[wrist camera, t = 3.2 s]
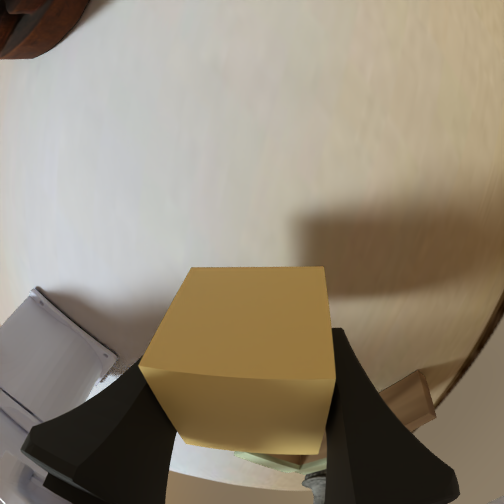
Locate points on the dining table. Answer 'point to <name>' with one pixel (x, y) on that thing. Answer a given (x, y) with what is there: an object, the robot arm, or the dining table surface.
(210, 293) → the ochre block
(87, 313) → the dining table surface
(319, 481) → the grey stone finial
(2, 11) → the figurine
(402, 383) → the walnut walls
